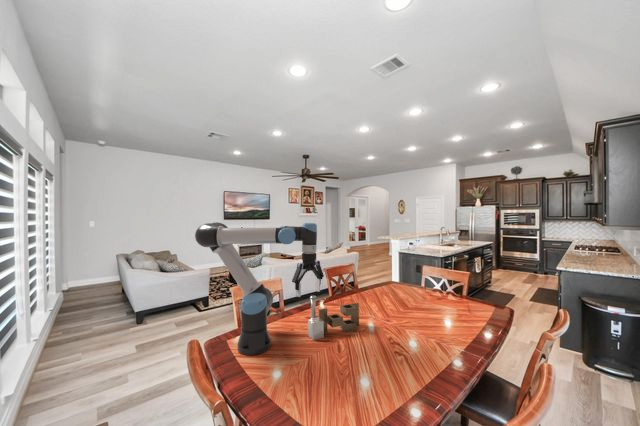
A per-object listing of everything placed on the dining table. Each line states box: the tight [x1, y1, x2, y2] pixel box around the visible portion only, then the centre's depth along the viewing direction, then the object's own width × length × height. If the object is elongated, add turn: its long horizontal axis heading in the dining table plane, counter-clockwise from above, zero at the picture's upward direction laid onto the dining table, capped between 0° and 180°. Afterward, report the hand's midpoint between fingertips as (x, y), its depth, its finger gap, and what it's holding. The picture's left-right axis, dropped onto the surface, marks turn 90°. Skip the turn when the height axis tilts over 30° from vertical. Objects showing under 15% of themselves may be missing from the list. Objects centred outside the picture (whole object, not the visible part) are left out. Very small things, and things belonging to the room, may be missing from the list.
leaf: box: [307, 307, 344, 341], centre depth 136 cm, size 17×6×12 cm, turn 114°
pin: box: [309, 295, 317, 319], centre depth 144 cm, size 3×3×17 cm
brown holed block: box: [339, 302, 360, 333], centre depth 143 cm, size 11×6×12 cm, turn 114°
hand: (308, 293), depth 138 cm, fingers open, 13 cm apart
